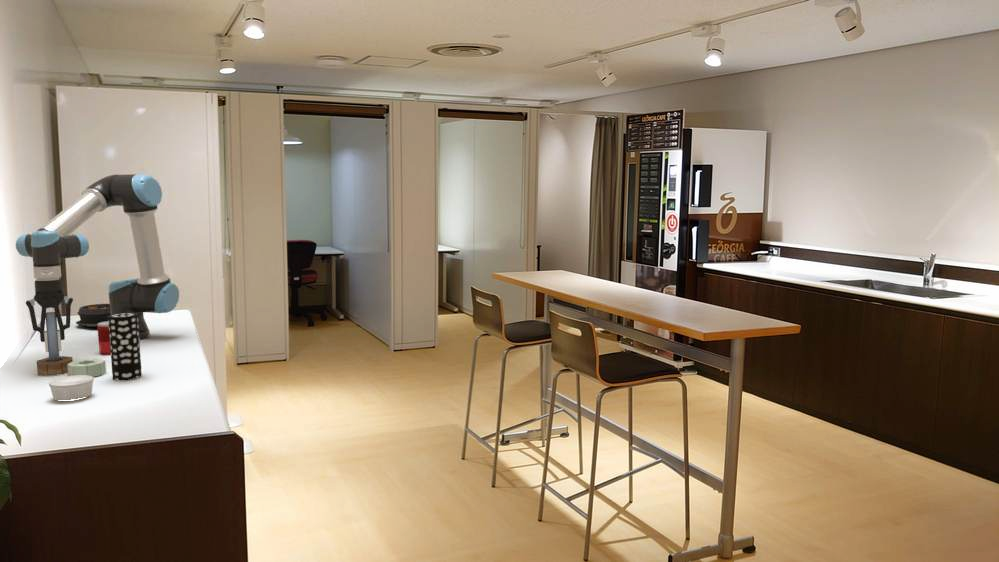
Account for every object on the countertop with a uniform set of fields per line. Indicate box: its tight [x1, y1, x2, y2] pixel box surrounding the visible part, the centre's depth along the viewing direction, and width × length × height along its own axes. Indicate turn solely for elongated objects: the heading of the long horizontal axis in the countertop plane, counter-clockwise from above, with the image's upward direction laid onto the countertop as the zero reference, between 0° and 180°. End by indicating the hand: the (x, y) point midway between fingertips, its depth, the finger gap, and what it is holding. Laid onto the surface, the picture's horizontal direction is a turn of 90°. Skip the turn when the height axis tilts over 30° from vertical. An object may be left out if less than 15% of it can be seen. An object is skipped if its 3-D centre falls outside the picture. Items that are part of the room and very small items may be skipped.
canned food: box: [97, 321, 111, 356], centre depth 271 cm, size 8×8×11 cm
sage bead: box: [67, 358, 107, 378], centre depth 240 cm, size 10×10×4 cm
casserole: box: [75, 303, 111, 328], centre depth 323 cm, size 25×19×8 cm
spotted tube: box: [108, 313, 143, 381], centre depth 236 cm, size 8×8×20 cm
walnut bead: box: [36, 355, 74, 376], centre depth 244 cm, size 10×10×4 cm
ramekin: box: [48, 375, 95, 401], centre depth 215 cm, size 11×11×5 cm
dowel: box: [45, 311, 60, 362], centre depth 243 cm, size 3×3×16 cm
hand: (53, 350), depth 243 cm, fingers closed on dowel, 3 cm apart
